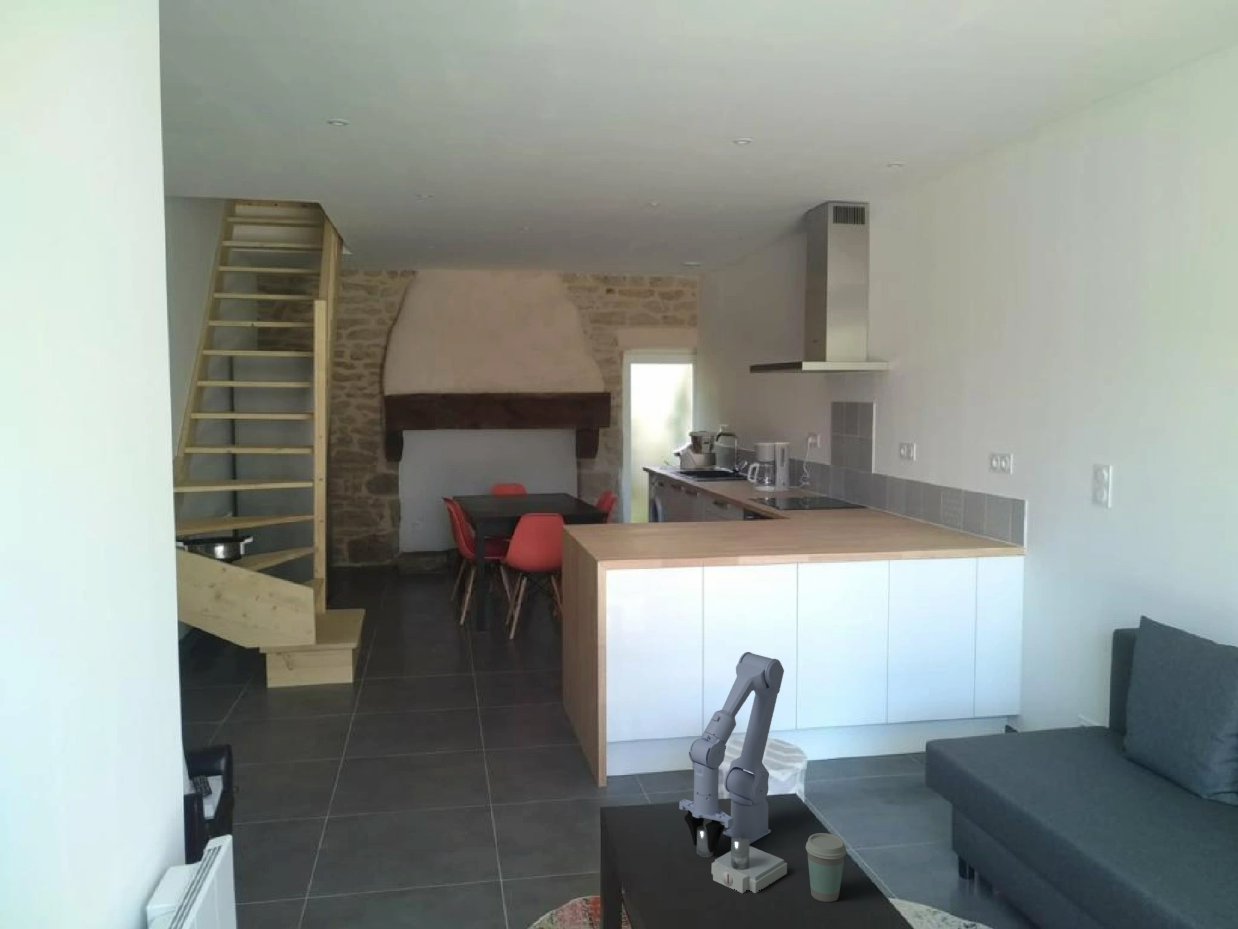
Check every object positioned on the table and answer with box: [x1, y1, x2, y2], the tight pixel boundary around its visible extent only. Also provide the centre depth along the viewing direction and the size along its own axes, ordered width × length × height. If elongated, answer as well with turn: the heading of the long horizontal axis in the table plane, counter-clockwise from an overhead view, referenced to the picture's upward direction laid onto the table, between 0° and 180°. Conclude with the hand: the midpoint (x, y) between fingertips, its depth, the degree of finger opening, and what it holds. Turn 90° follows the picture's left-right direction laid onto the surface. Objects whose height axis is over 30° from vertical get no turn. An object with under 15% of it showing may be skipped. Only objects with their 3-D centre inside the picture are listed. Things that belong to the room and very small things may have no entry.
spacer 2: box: [730, 835, 751, 870], centre depth 206 cm, size 4×4×6 cm
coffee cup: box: [805, 832, 847, 903], centre depth 200 cm, size 8×9×12 cm
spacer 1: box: [696, 824, 715, 859], centre depth 218 cm, size 4×4×6 cm
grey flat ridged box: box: [711, 845, 788, 894], centre depth 208 cm, size 14×12×3 cm
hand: (705, 847), depth 218 cm, fingers closed on spacer 1, 4 cm apart
